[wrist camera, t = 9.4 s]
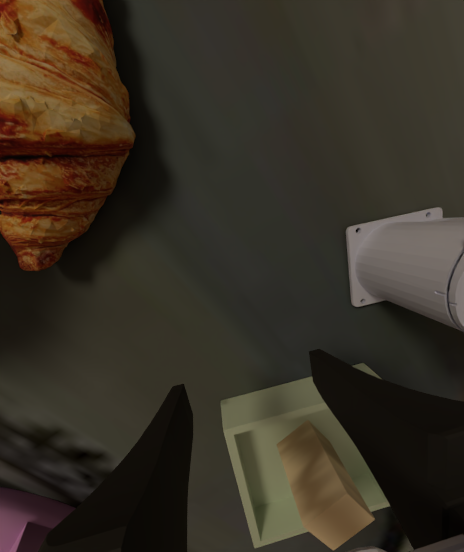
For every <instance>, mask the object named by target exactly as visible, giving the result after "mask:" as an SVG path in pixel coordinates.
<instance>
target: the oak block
mask: <svg viewBox="0 0 464 552" xmlns="http://www.w3.org/2000/svg"><path fill="white" fill-rule="evenodd" d="M276 445H277V448H278V451H279V454H280V457H281V460H282V463H283V466H284V469H285V472H286V475H287V478H288V481H289V484H290V487H291V490H292V493H293V496H294V500H295V503H296V506H297V509H298V512H299V515H300V518H301V521H302V524H303V527H304V528H306V529H307V530H308V531H309V532H311V533H312V534H313V535H314V536H316V537H317V538H318V539H319V540H321V541H322V542H323V543H324V544H326V545H327V546H328V547H329V548H331V549H332V550H333V551H334V550H335V549H336V548H338V547H339V546H340V545H342V544H343V543H344V542H346V541H347V540H348V539H350V538H351V537H352V536H354V535H355V534H356V533H358V532H359V531H360V530H362V529H363V528H364V527H366V526H367V525H368V524H370V523H371V522H372V521H374V520H375V519H374V517H373V515H372V513H371V512H370V510H369V508H368V507H367V505H366V503H365V501H364V500H363V498H362V496H361V494H360V493H359V491H358V489H357V488H356V486H355V484H354V482H353V481H352V479H351V477H350V475H349V474H348V472H347V470H346V469H345V467H344V465H343V463H342V462H341V460H340V458H339V456H338V455H337V453H336V451H335V450H334V448H333V446H332V444H331V443H330V441H329V440H328V439H327V438H326V437H325V436H324V435H323V434H322V433H321V432H320V431H319V430H318V429H317V428H316V427H315V426H314V425H313V424H312V423H311V422H310V421H309V420H307V421H305V422H304V423H303V424H302V425H300V426H299V427H298V428H297V429H295V430H294V431H293V432H291V433H290V434H289V435H288V436H286V437H285V438H284V439H283V440H281V441H280V442H279V443H278V444H276Z"/></svg>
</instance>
